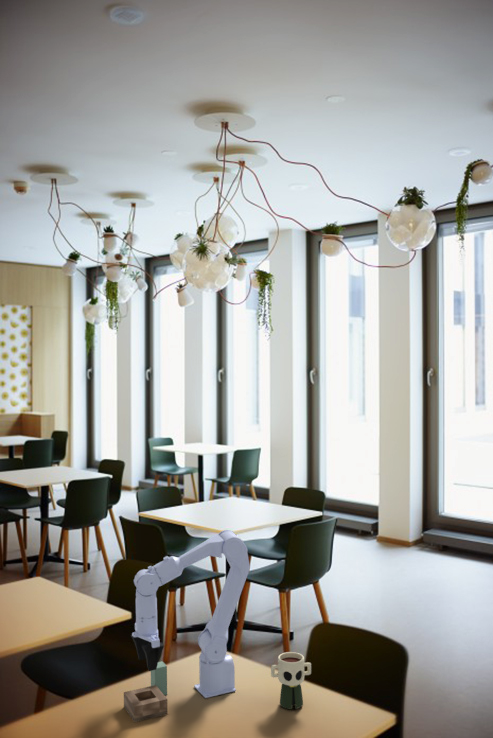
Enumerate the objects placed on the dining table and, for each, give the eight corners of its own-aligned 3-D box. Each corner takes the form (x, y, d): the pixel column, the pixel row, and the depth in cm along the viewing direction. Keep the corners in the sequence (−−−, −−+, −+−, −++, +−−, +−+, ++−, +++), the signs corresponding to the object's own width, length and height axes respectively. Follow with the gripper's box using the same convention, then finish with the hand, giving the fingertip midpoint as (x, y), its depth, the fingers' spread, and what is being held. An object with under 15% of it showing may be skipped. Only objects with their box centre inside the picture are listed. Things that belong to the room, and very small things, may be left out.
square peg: (162, 689, 204) (162, 661, 204) (167, 694, 201) (166, 666, 201) (150, 692, 202) (150, 663, 202) (155, 697, 199) (154, 668, 199)
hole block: (155, 699, 198) (155, 685, 198) (167, 714, 190) (167, 699, 190) (123, 707, 194) (123, 692, 194) (134, 722, 186) (134, 706, 186)
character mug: (273, 713, 190) (273, 664, 190) (268, 700, 197) (268, 653, 197) (314, 710, 191) (314, 661, 191) (308, 697, 199) (307, 650, 198)
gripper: (124, 609, 203) (125, 657, 203) (141, 626, 190) (142, 678, 190) (148, 605, 206) (149, 652, 206) (166, 621, 193) (167, 672, 193)
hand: (147, 664), depth 198 cm, fingers open, 7 cm apart
